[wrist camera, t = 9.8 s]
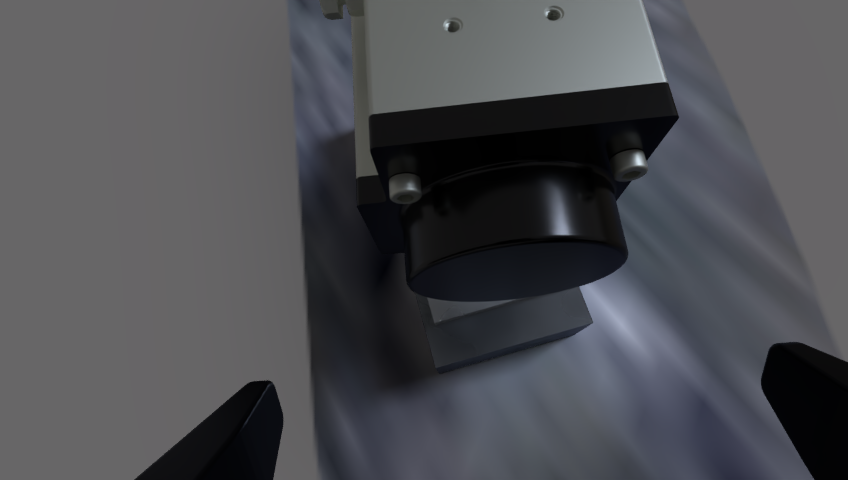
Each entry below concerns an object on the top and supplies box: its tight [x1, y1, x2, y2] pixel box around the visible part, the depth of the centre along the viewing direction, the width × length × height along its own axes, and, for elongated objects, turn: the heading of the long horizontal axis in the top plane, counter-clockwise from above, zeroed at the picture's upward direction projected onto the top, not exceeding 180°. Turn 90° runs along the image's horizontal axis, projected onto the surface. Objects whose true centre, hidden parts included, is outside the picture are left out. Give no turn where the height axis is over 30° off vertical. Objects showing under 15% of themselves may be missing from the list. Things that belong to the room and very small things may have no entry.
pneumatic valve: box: [319, 0, 679, 302], centre depth 13 cm, size 6×12×12 cm, turn 5°
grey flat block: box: [404, 253, 593, 374], centre depth 21 cm, size 15×6×4 cm, turn 15°
